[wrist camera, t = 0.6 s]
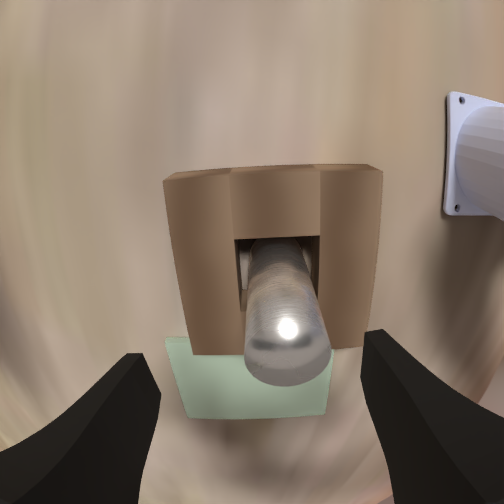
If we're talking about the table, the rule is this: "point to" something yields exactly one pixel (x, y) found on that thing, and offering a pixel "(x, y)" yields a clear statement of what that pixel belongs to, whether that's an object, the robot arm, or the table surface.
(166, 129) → the table surface
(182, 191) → the eye block
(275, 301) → the steel peg
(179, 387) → the sage mat
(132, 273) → the table surface
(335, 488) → the table surface
